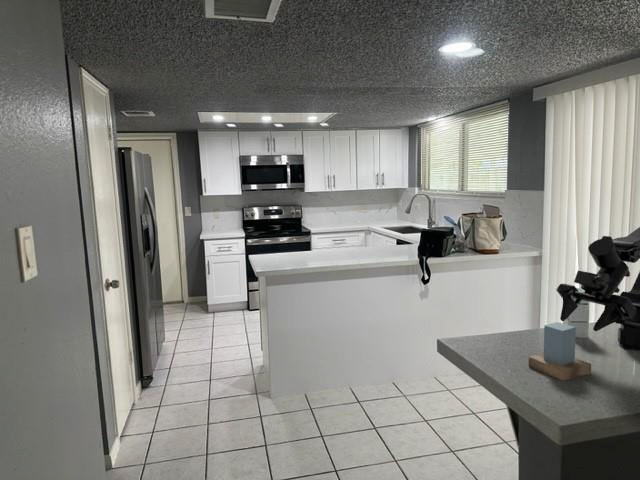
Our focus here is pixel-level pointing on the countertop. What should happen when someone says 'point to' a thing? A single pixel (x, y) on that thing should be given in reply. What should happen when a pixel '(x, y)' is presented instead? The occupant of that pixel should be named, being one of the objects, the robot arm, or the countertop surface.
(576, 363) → the walnut block
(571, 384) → the countertop surface
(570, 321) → the syrup box
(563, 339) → the slate block
